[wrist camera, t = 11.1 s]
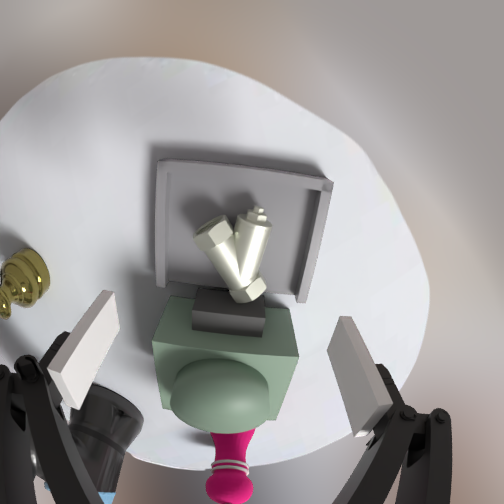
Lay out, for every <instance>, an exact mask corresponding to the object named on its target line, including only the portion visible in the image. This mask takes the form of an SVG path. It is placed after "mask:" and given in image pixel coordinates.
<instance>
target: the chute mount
mask: <svg viewBox="0 0 504 504" xmlns="http://www.w3.org/2000/svg"><path fill="white" fill-rule="evenodd" d="M333 184H334V182H333V181H331V180H329V179H328V178H323V177H317V176H312V175H306V174H300V173H294V172H288V171H281V170H274V169H267V168H260V167H252V166H244V165H235V164H226V163H216V162H205V161H192V160H178V159H162V160H159V161H157V177H156V200H155V269H156V287H162V288H165V287H166V285H167V283H168V281H173V282H181V283H188V284H196V285H204V286H212V287H221V288H229V287H228V286H227V284H226V283H225V281H224V280H223V278H222V277H221V276H220V274H219V273H218V271H217V270H216V268H215V267H214V265H213V264H212V262H211V261H210V259H209V258H208V256H207V255H206V253H205V252H204V251H200V249H199V248H198V246H197V245H196V243H195V242H194V240H193V234H194V232H195V231H196V230H197V229H199V228H200V227H201V226H202V225H204V224H205V223H207V222H208V221H210V220H212V219H214V218H216V217H218V216H221V215H226V216H227V218H228V220H229V221H230V223H231V224H232V226H233V230H234V227H235V223H236V220H237V216H238V215H239V214H247V211H248V210H249V209H253V208H254V206H260V207H262V208H264V210H263V213H265V214H266V215H267V218H266V220H267V221H269V222H270V223H271V224H272V229H271V232H270V235H269V238H268V242H267V245H266V248H265V251H264V254H263V257H262V260H261V263H260V267H259V270H260V272H261V274H262V275H263V277H264V279H265V281H266V285H267V288H266V289H265V291H264V292H267V293H277V294H288V295H295V298H296V302H297V303H306V300H307V297H308V293H309V289H310V285H311V281H312V278H313V274H314V270H315V266H316V262H317V258H318V253H319V249H320V245H321V241H322V236H323V232H324V227H325V223H326V218H327V214H328V209H329V204H330V199H331V194H332V189H333Z"/></svg>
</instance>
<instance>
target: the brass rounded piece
mask: <svg viewBox="0 0 504 504" xmlns="http://www.w3.org/2000/svg"><path fill="white" fill-rule="evenodd" d="M0 277H1V286H0V318H2V319H4V320H7V319H9V318H10V316H11V307H10V305H11V303H14V304H16V305H18V306H20V307H23V308H30V307H32V306H33V305H34V304H35V303H36V301H37V300H38V299H40V298H41V297H42V295H43V294H44V293H45V292H46V291H47V290H48V289H49V286H50V277H49V272H48V269H47V267H46V265H45V263H44V261H43V260H42V259H41V257H40V256H39V255H38V254H37V253H36V252H34V251H33V250H31V249H28V248H23V249H21V250H20V251H18V252H17V253H15V254H13V255H12V256H11V258H8V259H6V260H5V261H4V262H3V263H2V266H1V269H0Z"/></svg>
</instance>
